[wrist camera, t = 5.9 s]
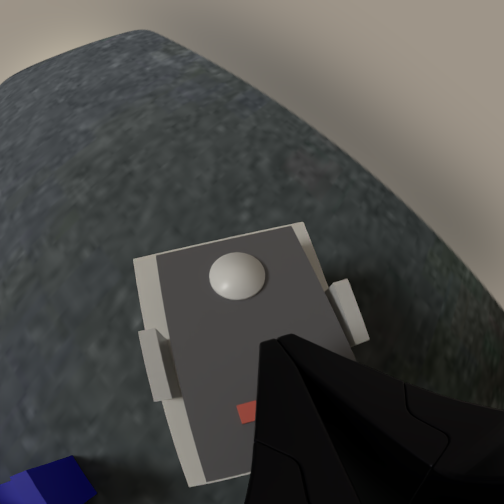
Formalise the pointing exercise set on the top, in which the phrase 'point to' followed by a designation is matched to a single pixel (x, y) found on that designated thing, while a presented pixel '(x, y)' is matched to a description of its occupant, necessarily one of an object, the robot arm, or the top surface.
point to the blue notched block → (48, 485)
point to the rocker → (237, 332)
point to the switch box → (161, 354)
